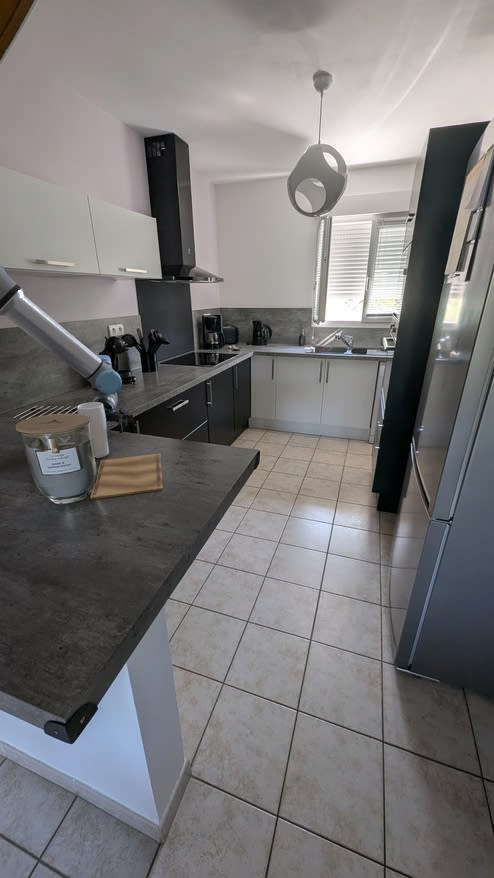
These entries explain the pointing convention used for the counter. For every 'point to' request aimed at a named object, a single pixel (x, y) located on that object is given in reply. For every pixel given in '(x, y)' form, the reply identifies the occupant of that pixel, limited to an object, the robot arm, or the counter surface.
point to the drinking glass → (96, 426)
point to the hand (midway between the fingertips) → (94, 431)
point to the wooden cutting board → (128, 476)
